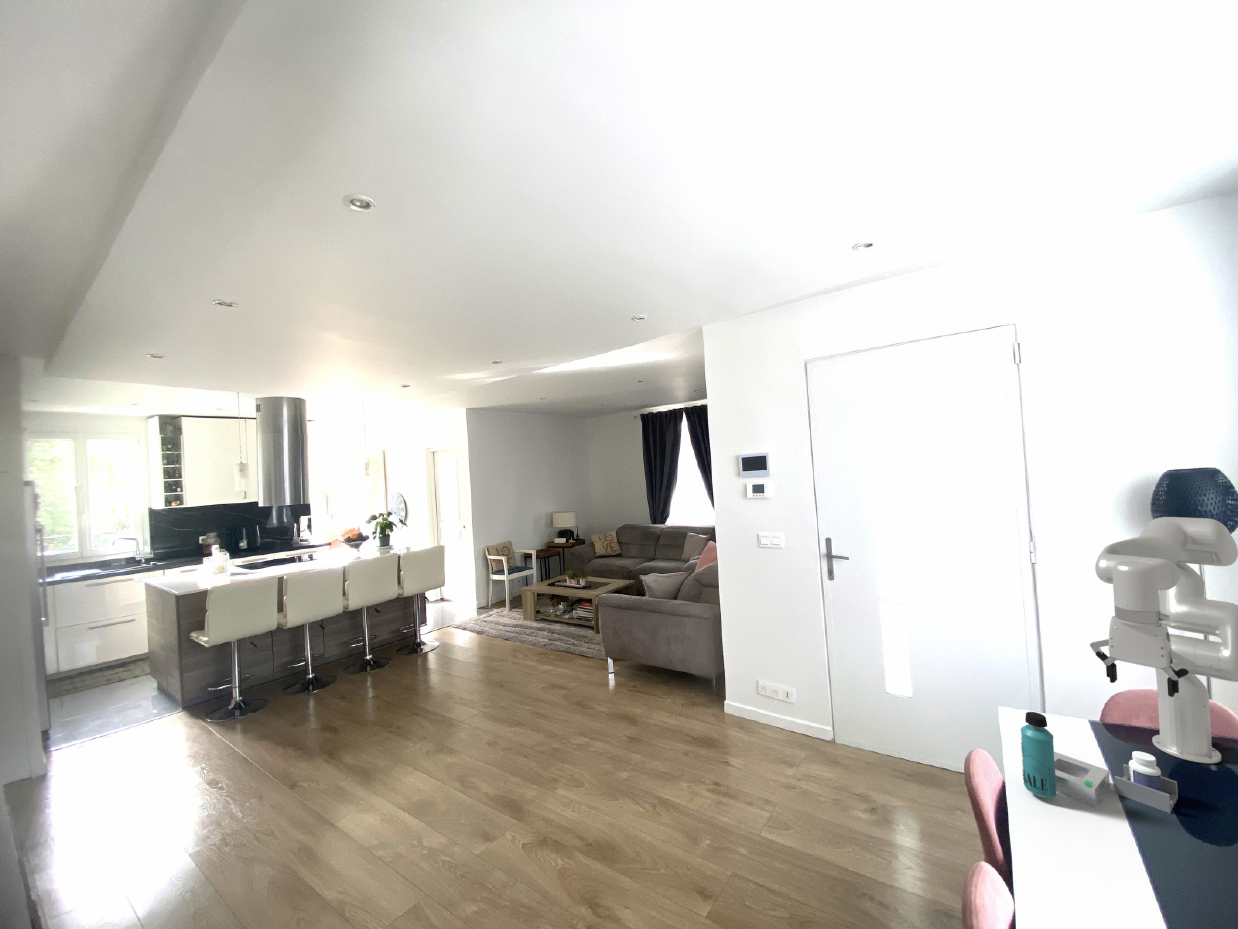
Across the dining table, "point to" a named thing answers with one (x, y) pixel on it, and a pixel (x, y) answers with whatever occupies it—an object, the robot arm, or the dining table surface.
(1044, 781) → the beverage bottle
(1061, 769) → the port
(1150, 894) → the dining table surface
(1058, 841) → the dining table surface
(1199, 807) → the dining table surface
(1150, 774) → the pill bottle
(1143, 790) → the grey open frame
